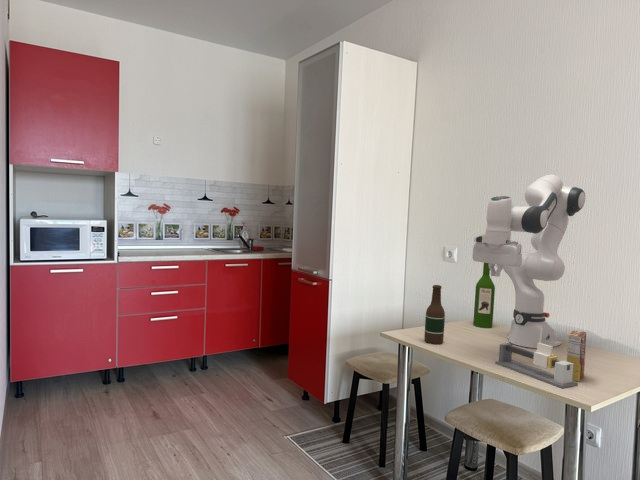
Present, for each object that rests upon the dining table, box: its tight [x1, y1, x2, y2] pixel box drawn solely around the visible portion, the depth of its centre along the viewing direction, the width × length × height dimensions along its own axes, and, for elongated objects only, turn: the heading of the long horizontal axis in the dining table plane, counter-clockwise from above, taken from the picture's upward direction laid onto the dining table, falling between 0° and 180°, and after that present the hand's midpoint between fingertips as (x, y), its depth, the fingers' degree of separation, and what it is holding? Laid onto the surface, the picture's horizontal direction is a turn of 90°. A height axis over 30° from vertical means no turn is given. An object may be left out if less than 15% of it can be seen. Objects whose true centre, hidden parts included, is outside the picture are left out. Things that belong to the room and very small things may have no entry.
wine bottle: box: [472, 262, 496, 329], centre depth 226 cm, size 9×9×32 cm
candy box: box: [566, 330, 587, 383], centre depth 155 cm, size 9×4×15 cm, turn 140°
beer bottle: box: [423, 284, 446, 345], centre depth 192 cm, size 8×8×24 cm
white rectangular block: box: [532, 343, 556, 369], centre depth 154 cm, size 4×5×7 cm
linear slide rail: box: [494, 342, 579, 390], centre depth 158 cm, size 8×26×8 cm, turn 29°
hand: (495, 276), depth 173 cm, fingers closed
